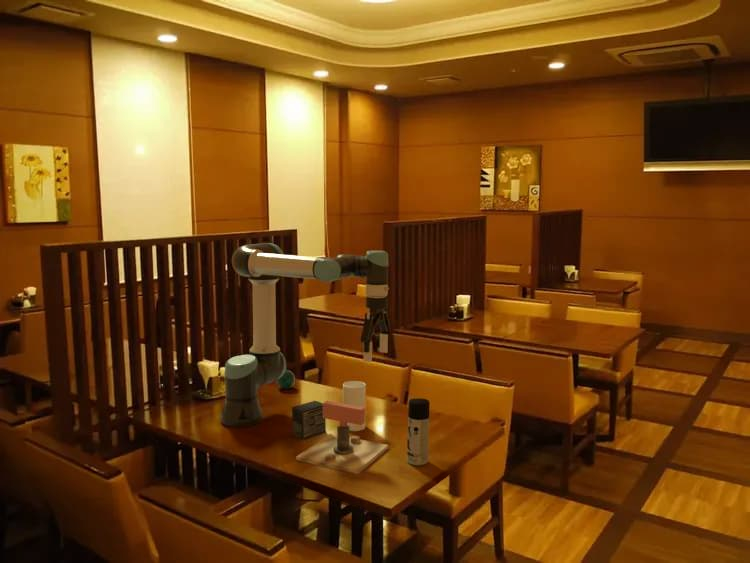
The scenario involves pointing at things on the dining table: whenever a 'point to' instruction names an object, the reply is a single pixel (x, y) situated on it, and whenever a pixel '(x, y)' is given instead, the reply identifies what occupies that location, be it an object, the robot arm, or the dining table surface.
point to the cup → (354, 399)
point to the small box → (308, 420)
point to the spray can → (418, 431)
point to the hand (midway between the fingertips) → (375, 356)
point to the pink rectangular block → (344, 413)
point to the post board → (343, 452)
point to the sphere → (286, 380)
